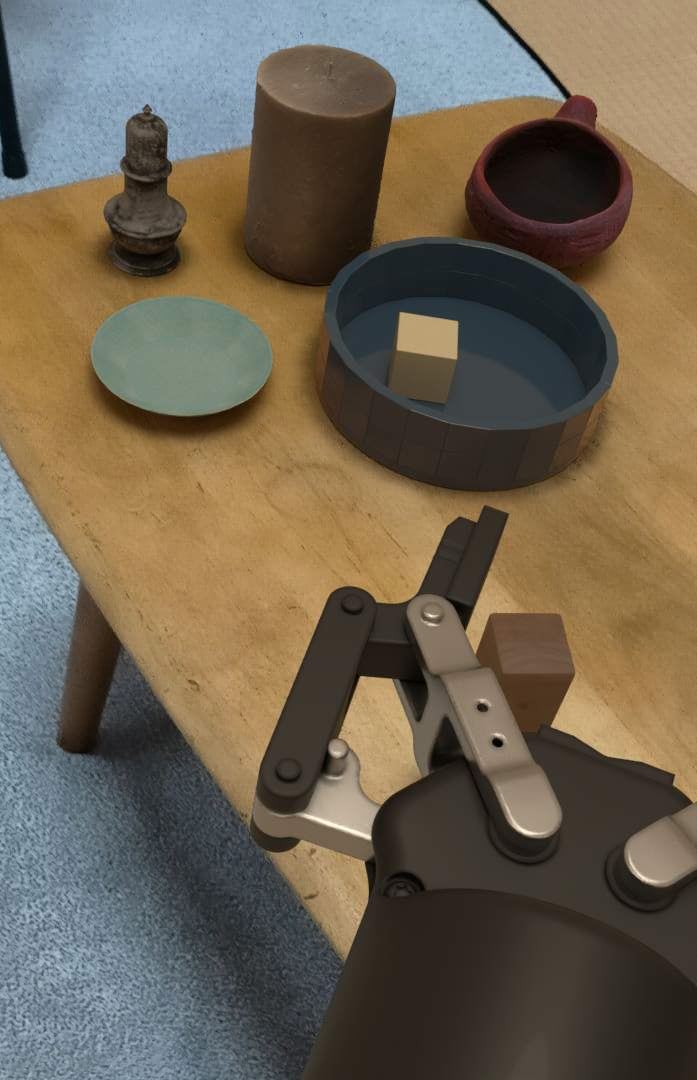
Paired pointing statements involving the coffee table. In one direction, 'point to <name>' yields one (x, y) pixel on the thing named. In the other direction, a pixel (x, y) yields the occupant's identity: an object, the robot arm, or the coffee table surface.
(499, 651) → the wooden block
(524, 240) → the bowl
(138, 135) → the salt shaker
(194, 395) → the saucer
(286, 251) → the pillar candle
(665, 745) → the coffee table surface
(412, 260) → the bowl
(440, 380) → the cube
